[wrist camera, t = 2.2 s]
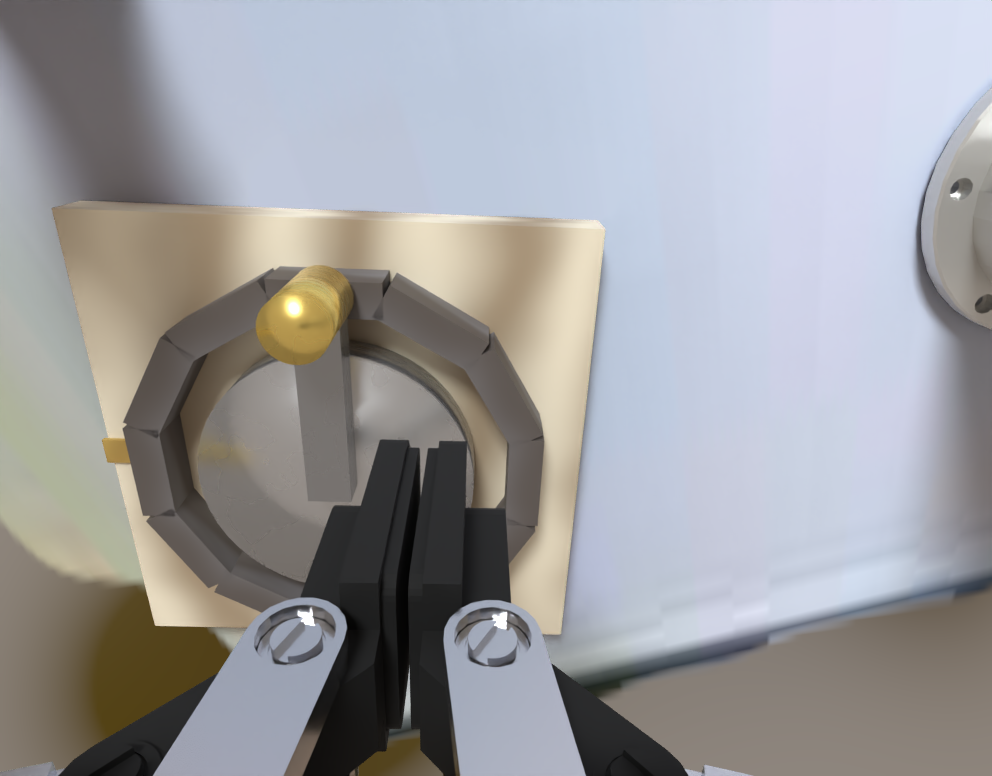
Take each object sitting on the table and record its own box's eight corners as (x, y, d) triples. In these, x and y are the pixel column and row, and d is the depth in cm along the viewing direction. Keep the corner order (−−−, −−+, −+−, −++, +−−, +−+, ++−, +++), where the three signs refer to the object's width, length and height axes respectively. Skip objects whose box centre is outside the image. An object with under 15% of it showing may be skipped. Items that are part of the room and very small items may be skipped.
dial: (471, 563, 32) (468, 658, 27) (234, 558, 32) (181, 652, 27) (480, 258, 26) (478, 302, 20) (181, 247, 25) (98, 288, 20)
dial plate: (597, 220, 27) (614, 239, 24) (557, 607, 37) (564, 664, 33) (76, 200, 27) (12, 216, 23) (168, 598, 36) (132, 655, 32)
